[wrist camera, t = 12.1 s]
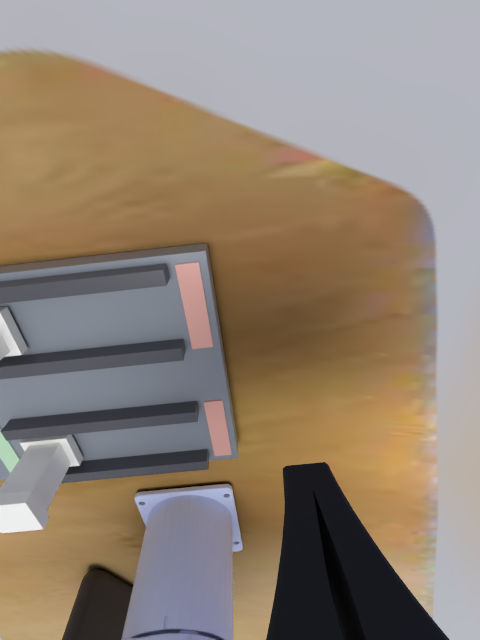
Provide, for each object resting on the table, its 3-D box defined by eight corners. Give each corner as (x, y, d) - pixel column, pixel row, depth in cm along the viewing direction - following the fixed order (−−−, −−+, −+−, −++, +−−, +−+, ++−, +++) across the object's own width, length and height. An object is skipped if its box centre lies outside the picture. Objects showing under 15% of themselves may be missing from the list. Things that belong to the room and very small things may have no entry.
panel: (237, 440, 24) (238, 470, 22) (3, 463, 25) (-20, 494, 22) (207, 243, 17) (204, 256, 15) (-122, 279, 17) (-172, 298, 15)
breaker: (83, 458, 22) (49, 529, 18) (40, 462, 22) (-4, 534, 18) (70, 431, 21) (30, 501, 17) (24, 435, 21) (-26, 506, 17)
